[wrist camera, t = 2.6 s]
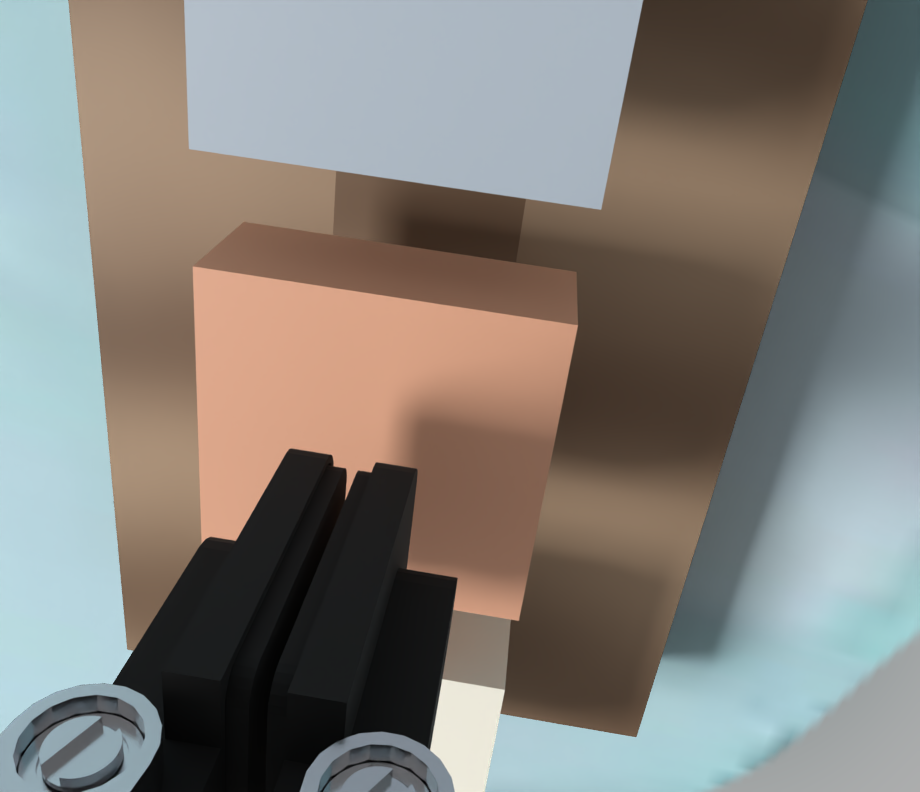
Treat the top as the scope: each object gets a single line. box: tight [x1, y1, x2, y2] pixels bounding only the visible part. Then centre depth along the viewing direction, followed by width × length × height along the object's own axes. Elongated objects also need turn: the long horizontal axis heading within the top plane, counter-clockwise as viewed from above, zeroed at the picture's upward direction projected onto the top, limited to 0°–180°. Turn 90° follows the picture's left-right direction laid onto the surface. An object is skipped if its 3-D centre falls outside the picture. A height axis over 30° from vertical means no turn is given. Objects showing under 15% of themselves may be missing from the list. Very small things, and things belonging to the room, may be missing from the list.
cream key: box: [430, 610, 511, 792], centre depth 17 cm, size 5×5×4 cm
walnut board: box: [68, 0, 868, 737], centre depth 17 cm, size 18×12×2 cm, turn 173°
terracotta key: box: [193, 222, 578, 621], centre depth 14 cm, size 5×5×4 cm
